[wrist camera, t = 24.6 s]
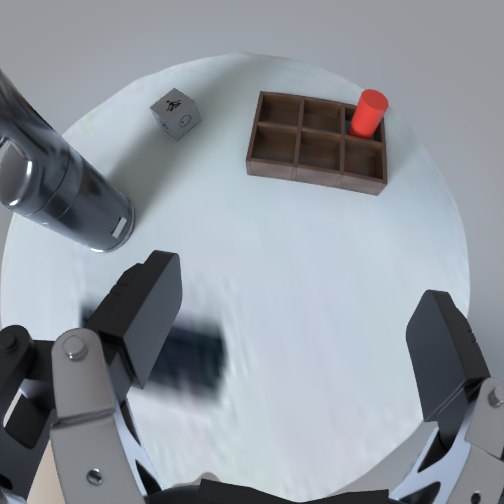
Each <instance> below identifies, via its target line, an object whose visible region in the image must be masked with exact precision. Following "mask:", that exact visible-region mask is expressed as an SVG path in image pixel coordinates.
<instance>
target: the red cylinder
mask: <svg viewBox="0 0 504 504" xmlns="http://www.w3.org/2000/svg"><path fill="white" fill-rule="evenodd" d="M387 107H388V101H387V99H386V97H385V96H384V95H383V94H382V93H380V92H378V91H376V90H370V89H369V90H365V91H363V92H362V94H361V97H360V99H359V102H358V105H357V107H356V110H355V113H354V115H353V118H352V120H351V123H350V126H349V128H348V131H347V135H350V136H355V137H359V138H364V139H369V140H371V138H372V136H373V134H374V133H375V131H376V129H377V127H378V125H379V123H380V121H381V119H382V117H383V115H384V113H385V111H386V109H387Z"/></svg>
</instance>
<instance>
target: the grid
mask: <svg viewBox="0 0 504 504" xmlns="http://www.w3.org/2000/svg"><path fill="white" fill-rule="evenodd" d="M356 107H357V106H355V105H351V104H346V103H341V102H336V101H330V100H325V99H319V98H312V97H306V96H299V95H291V94H283V93H274V92H264V91H260V95H259V100H258V104H257V109H256V114H255V118H254V123H253V128H252V133H251V137H250V142H249V147H248V152H247V157H246V167H247V174H248V175H253V176H261V177H269V178H276V179H283V180H290V181H297V182H304V183H310V184H316V185H322V186H328V187H334V188H340V189H345V190H351V191H356V192H361V193H366V194H371V195H376V196H378V195H379V194H380V192H381V191H382V190H383V189H384V188H385V186H386V185H387V161H386V142H385V129H384V117H382V119H381V121H380V123H379V125H378V127H377V129H376V131H375V133H374V134H373V136H372V138H371V140H369V139H364V138H359V137H355V136H350V135H347V131H348V128H349V126H350V123H351V120H352V118H353V115H354V113H355V110H356Z"/></svg>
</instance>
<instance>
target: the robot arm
mask: <svg viewBox="0 0 504 504" xmlns="http://www.w3.org/2000/svg"><path fill="white" fill-rule="evenodd" d="M7 140H9V142H8V145H7V148H6V151H5V153H4V156H3V158H2V161H1V164H0V201H1V203H2V204H3V205H4V206H5V207H7V208H8V209H10V210H12V211H14V212H16V213H18V214H20V215H22V216H24V217H26V218H28V219H30V220H32V221H34V222H36V223H38V224H40V225H42V226H44V227H46V228H48V229H51V230H53V231H55V232H57V233H59V234H61V235H63V236H65V237H68V238H70V239H72V240H74V241H76V242H78V243H81V244H83V245H85V246H87V247H89V248H90V249H92V250H94V251H97V252H100V253H108V252H111V251H114V250H116V249H118V248H119V247H120V246H122V245H123V244H124V243H125V242H126V240H127V239H128V238H129V236H130V234H131V232H132V230H133V227H134V223H135V211H134V207H133V205H132V203H131V201H130V200H129V199H128V198H127V197H126V196H125V195H124V194H122V193H121V192H120V191H119V190H118V189H117V188H115V187H114V186H113V185H112V184H111V183H110V182H109V181H108V180H107V179H106V178H105V177H103V176H102V175H101V174H100V173H99V172H98V171H97V170H96V169H95V168H94V167H93V166H92V165H91V164H89V163H88V162H87V161H86V160H85V159H84V158H83V157H82V156H81V155H80V154H79V153H78V152H77V151H76V150H74V149H73V148H72V147H71V146H70V145H69V144H68V143H67V142H66V141H65V140H64V139H63V138H62V137H61V136H60V135H59V134H58V133H57V132H56V131H55V130H54V129H53V128H52V127H51V126H50V125H49V124H48V123H47V122H46V121H45V120H44V119H43V118H42V117H41V116H40V115H39V114H38V113H37V112H36V111H35V110H34V109H33V108H32V106H31V105H30V104H29V103H28V102H27V101H26V100H25V98H24V97H23V96H22V95H21V94H20V92H19V91H18V90H17V88H16V87H15V86H14V85H13V83H12V82H11V81H10V80H9V78H8V77H7V76H6V75H5V74H4V72H3V71H2V70H1V69H0V148H1V147H2V146H3V145H4V143H5V142H6V141H7ZM181 302H182V281H181V269H180V258H179V255H178V254H177V253H171V252H165V251H159V250H154V251H153V252H152V253H151V254H150V256H149V257H148V258H147V260H146V261H145V263H144V264H140V263H137V264H135V265H134V266H132V267H131V268H129V269H128V270H126V271H125V272H124V273H123V274H122V276H121V277H120V278H119V280H118V281H117V282H116V285H114V286H113V287H112V289H111V290H110V293H109V294H107V296H106V297H105V298H104V300H103V301H102V302H101V304H100V305H99V306H98V308H97V309H96V311H95V312H94V313H93V315H92V316H91V318H90V319H89V321H88V322H87V323H86V325H85V326H84V327H83V328H75V329H71V330H68V331H66V332H65V333H63V334H62V335H60V336H59V337H58V338H57V339H56V341H46V340H32V338H31V336H30V334H29V333H28V331H27V330H26V328H24V327H23V326H20V325H11V326H8V327H6V328H4V329H2V330H1V331H0V504H27V503H26V501H27V498H28V495H29V492H30V488H31V486H32V483H33V480H34V477H35V474H36V472H37V469H38V466H39V464H40V461H41V459H42V456H43V454H44V451H45V449H46V446H47V443H48V441H49V439H50V440H51V445H52V451H53V456H54V461H55V465H56V470H57V474H58V478H59V482H60V486H61V489H62V493H63V496H64V500H65V503H66V504H504V382H503V381H502V380H500V379H498V378H494V377H491V376H490V373H489V370H488V368H487V365H486V363H485V360H484V358H483V356H482V353H481V350H480V348H479V346H478V343H476V338H475V336H474V334H473V333H472V330H471V328H470V325H469V323H468V321H467V319H466V318H465V316H464V315H463V314H462V313H461V312H460V311H459V310H458V308H456V306H455V304H454V302H453V300H452V298H451V296H450V294H449V293H448V292H444V291H436V290H426V291H425V292H424V294H423V296H422V298H421V300H420V302H419V304H418V306H417V308H416V310H415V311H414V313H413V315H412V317H411V319H410V321H409V323H408V325H407V329H406V342H407V345H408V349H409V353H410V357H411V361H412V365H413V369H414V374H415V378H416V383H417V387H418V392H419V397H420V402H421V407H422V412H423V418H424V422H431V421H437V422H438V426H437V427H436V428H435V429H434V431H433V432H432V434H431V436H430V438H429V440H428V442H427V444H426V446H425V448H424V449H423V451H422V453H421V455H420V457H419V458H418V460H417V462H416V464H415V465H414V467H413V469H412V470H411V472H410V473H409V475H408V476H407V477H406V478H405V480H404V481H402V482H401V483H400V484H399V485H398V486H397V487H396V488H395V489H394V490H393V491H392V493H391V494H390V495H389V490H388V489H386V490H375V491H362V492H346V493H343V494H339V495H335V496H331V497H327V498H322V499H318V500H313V501H308V502H301V503H299V502H293V501H290V500H286V499H283V498H280V497H277V496H274V495H271V494H268V493H265V492H262V491H259V490H256V489H254V488H251V487H245V486H239V485H233V484H227V483H222V482H216V481H211V480H207V479H201V483H200V485H189V486H179V487H174V488H169V489H165V490H164V487H163V485H162V483H161V481H160V479H159V476H158V474H157V472H156V470H155V468H154V466H153V464H152V462H151V460H150V458H149V456H148V454H147V452H146V450H145V448H144V445H143V443H142V440H141V437H140V435H139V432H138V429H137V426H136V423H135V421H134V418H133V415H132V412H131V408H130V405H129V402H128V399H127V396H126V395H127V393H128V391H129V389H130V386H133V387H136V388H140V389H143V388H144V386H145V383H146V381H147V379H148V377H149V374H150V372H151V370H152V368H153V365H154V363H155V361H156V359H157V357H158V354H159V352H160V350H161V348H162V346H163V343H164V341H165V339H166V337H167V335H168V333H169V330H170V328H171V326H172V324H173V322H174V320H175V318H176V316H177V313H178V311H179V309H180V306H181ZM18 390H20V392H21V393H22V394H21V396H20V398H19V400H18V402H17V404H16V406H15V408H14V410H13V412H12V414H11V416H10V418H9V420H8V422H7V424H6V426H5V427H4V426H3V420H4V417H5V414H6V412H7V410H8V408H9V406H10V405H11V402H12V401H13V399H14V397H15V395H16V393H17V391H18Z"/></svg>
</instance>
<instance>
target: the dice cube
mask: <svg viewBox="0 0 504 504" xmlns="http://www.w3.org/2000/svg"><path fill="white" fill-rule="evenodd" d="M150 109H151V111H152V113H153V115H154V117H155V118H156V120H157V122H158V124H159V126H160V127H162V128H163V129H164V130H165V131H166V132H168V133H169V134H170V135H171V136H173V137H174V138H175V139H176V140H179V139H180V138H181V137H182V136H183V135H184V134H186V133H187V132H188V131H189V130H190V129H192V128H193V127H194V126H195V125H196V124H198V123H199V122H200V121H201V119H200V116H199V113H198V110H197V107H196V104H195V101H193V100H192V99H190V98H189V97H187V96H186V95H184V94H183V93H181V92H180V91H178V90H177V89H175V88H174V89H173V90H171V91H170V92H169V93H167V94H166V95H165V96H164V97H162V98H161V99H160V100H158V101H157V102H156V103H155V104H153V105H152V106H151V107H150Z"/></svg>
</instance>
